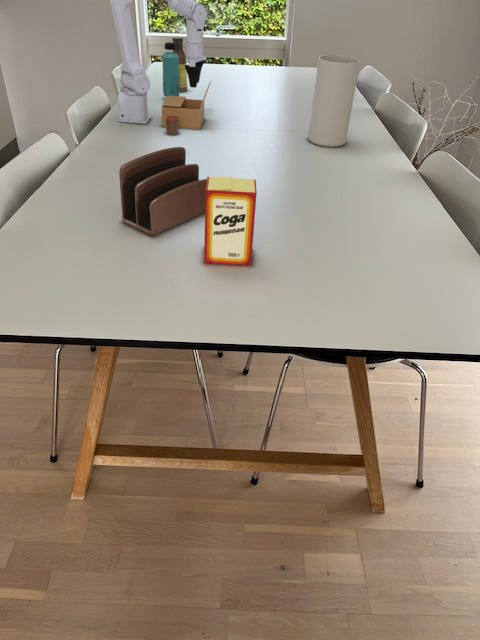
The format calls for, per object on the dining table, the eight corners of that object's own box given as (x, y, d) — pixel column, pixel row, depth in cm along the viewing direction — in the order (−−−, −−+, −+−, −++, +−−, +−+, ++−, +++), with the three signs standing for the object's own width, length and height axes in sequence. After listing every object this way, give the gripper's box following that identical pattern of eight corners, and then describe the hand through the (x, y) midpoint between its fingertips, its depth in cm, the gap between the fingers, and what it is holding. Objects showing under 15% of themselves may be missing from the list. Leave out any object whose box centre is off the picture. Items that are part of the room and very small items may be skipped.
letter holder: (121, 222, 121) (116, 161, 113) (183, 198, 134) (183, 141, 126) (152, 237, 116) (149, 174, 108) (213, 210, 129) (215, 152, 121)
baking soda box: (250, 250, 114) (255, 177, 105) (250, 265, 109) (256, 190, 99) (205, 248, 114) (207, 174, 104) (204, 263, 108) (205, 187, 99)
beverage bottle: (178, 102, 208) (178, 44, 196) (161, 100, 208) (160, 43, 196) (180, 97, 213) (180, 41, 201) (164, 96, 213) (162, 40, 201)
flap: (204, 98, 187) (204, 98, 187) (199, 107, 177) (200, 108, 177) (210, 80, 183) (211, 81, 184) (206, 89, 173) (207, 89, 173)
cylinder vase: (344, 149, 172) (359, 64, 158) (306, 144, 174) (317, 60, 159) (346, 138, 182) (360, 57, 168) (309, 133, 184) (320, 53, 169)
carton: (204, 119, 191) (204, 98, 187) (199, 129, 181) (200, 107, 177) (168, 116, 191) (167, 95, 187) (162, 126, 181) (161, 104, 177)
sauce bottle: (188, 89, 225) (188, 36, 213) (185, 93, 220) (185, 39, 208) (173, 88, 225) (172, 35, 214) (170, 91, 220) (169, 37, 209)
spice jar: (165, 134, 174) (164, 118, 171) (167, 130, 177) (166, 115, 175) (177, 135, 174) (177, 119, 171) (179, 131, 177) (179, 116, 175)
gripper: (204, 47, 178) (203, 90, 186) (208, 40, 190) (207, 81, 198) (183, 45, 179) (183, 88, 186) (188, 38, 190) (188, 79, 198)
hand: (194, 84), depth 192 cm, fingers open, 7 cm apart
